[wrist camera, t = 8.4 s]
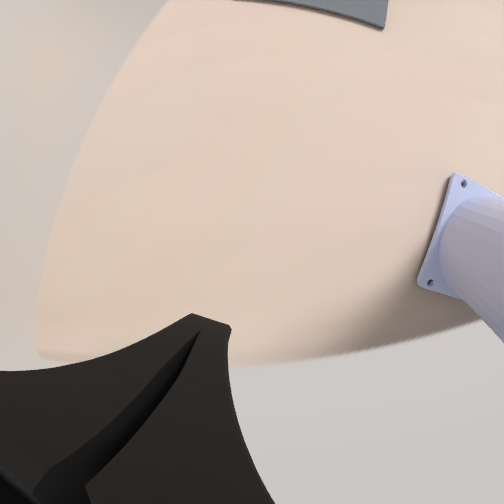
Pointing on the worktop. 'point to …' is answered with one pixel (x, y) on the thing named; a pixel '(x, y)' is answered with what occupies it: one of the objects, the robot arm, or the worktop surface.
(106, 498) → the robot arm
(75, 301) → the worktop surface
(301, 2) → the mat
